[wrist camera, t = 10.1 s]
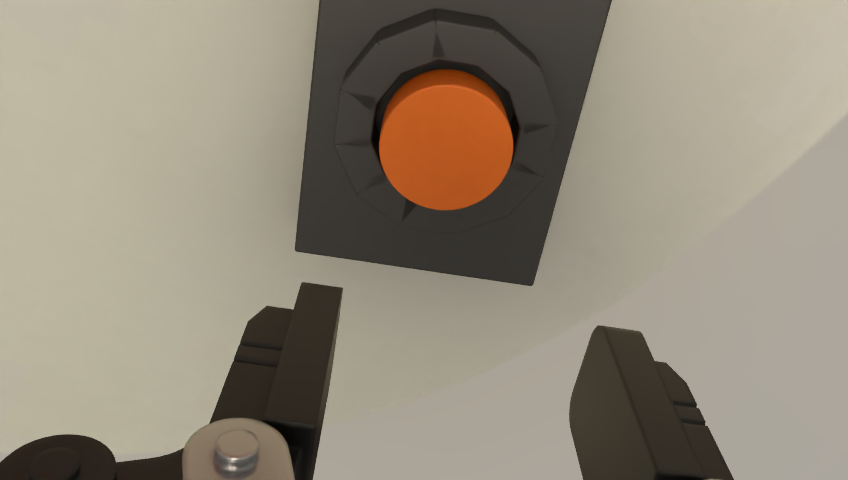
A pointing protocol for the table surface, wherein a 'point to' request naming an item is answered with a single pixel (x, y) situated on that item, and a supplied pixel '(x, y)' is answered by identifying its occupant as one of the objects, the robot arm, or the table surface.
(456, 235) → the dark piece
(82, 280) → the table surface
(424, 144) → the power button
